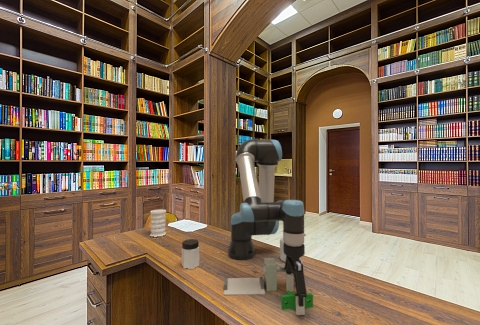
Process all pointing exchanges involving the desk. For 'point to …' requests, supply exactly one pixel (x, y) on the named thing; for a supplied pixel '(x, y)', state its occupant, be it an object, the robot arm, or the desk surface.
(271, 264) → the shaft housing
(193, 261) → the jar
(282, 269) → the shaft
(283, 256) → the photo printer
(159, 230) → the decorative container
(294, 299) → the pipe clamp
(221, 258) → the desk surface
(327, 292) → the desk surface
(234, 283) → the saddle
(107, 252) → the desk surface
